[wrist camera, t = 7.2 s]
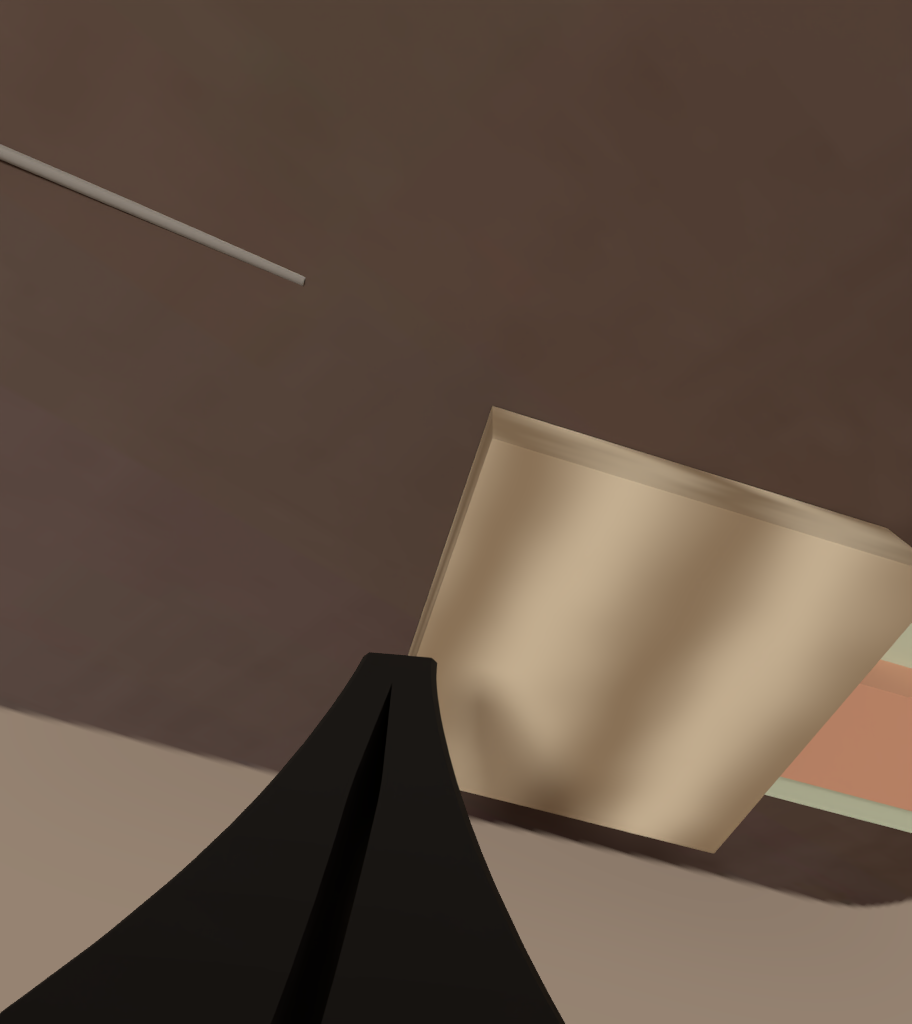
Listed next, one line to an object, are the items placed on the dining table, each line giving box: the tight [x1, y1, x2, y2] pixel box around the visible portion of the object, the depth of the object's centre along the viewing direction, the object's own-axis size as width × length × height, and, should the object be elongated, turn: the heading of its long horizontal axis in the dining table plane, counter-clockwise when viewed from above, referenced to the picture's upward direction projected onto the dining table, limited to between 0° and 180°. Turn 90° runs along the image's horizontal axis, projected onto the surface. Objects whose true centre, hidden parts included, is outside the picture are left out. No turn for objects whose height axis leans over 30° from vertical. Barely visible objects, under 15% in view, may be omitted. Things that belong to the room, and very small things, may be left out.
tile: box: [780, 659, 912, 811], centre depth 22 cm, size 8×5×2 cm, turn 73°
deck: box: [408, 406, 912, 853], centre depth 20 cm, size 14×14×3 cm
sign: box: [0, 144, 305, 286], centre depth 16 cm, size 5×1×15 cm
